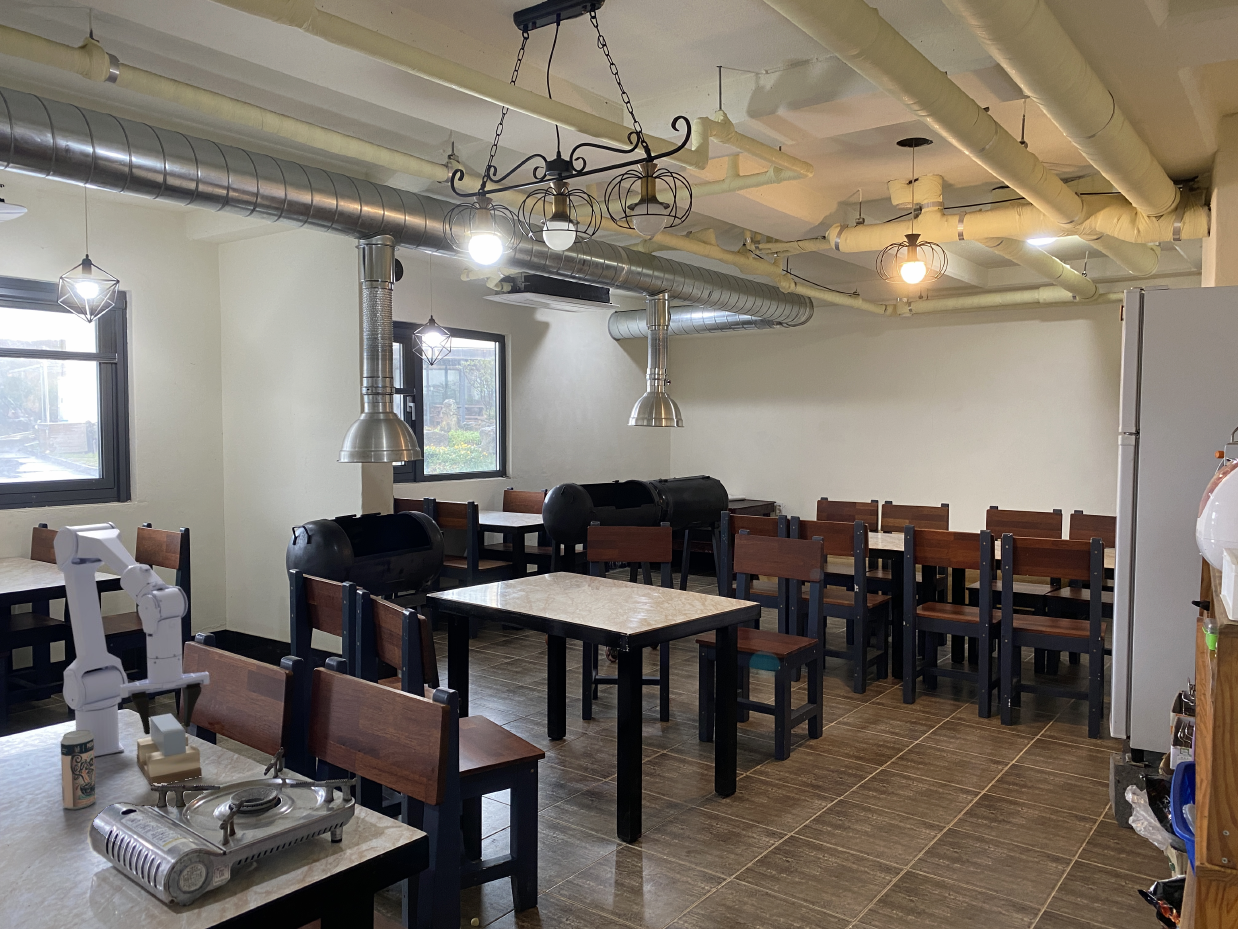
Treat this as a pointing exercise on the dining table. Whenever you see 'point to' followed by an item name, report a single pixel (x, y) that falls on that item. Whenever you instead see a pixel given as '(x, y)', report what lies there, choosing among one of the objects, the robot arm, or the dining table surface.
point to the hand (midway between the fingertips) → (167, 729)
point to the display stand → (167, 763)
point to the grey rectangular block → (168, 734)
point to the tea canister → (78, 769)
